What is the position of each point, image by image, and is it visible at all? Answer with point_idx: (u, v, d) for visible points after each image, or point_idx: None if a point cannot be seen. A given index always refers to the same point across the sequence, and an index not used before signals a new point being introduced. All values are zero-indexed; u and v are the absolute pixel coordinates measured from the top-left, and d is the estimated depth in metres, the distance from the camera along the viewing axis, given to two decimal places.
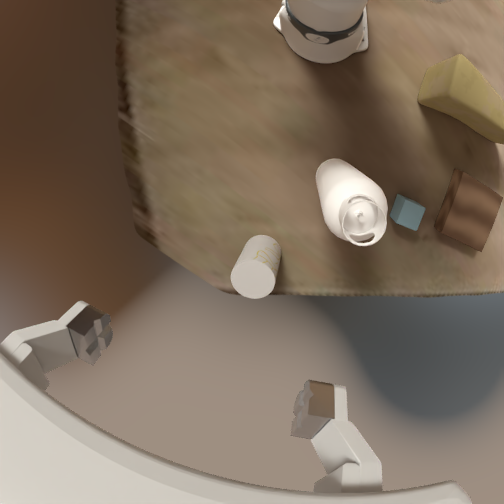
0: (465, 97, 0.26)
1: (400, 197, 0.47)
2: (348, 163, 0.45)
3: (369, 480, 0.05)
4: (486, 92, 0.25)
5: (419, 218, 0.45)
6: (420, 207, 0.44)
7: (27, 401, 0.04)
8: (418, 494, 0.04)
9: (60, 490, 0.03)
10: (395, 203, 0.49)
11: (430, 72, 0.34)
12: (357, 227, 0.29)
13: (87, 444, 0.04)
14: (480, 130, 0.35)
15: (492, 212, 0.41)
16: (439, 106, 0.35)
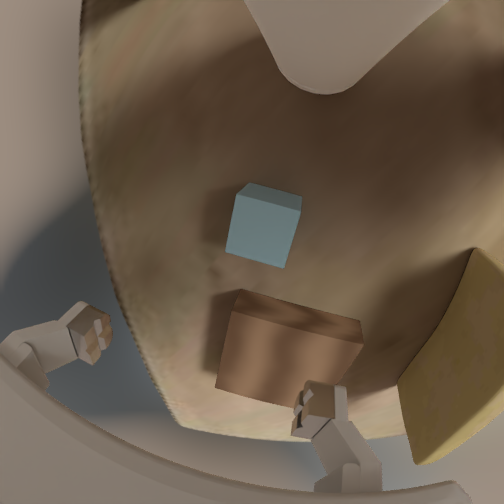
0: None
1: (298, 201, 0.22)
2: None
3: (369, 480, 0.05)
4: None
5: (257, 256, 0.22)
6: (284, 254, 0.22)
7: (27, 401, 0.04)
8: (418, 494, 0.04)
9: (60, 489, 0.03)
10: (280, 192, 0.24)
11: None
12: None
13: (87, 444, 0.04)
14: (428, 369, 0.25)
15: (288, 399, 0.31)
16: (484, 293, 0.19)
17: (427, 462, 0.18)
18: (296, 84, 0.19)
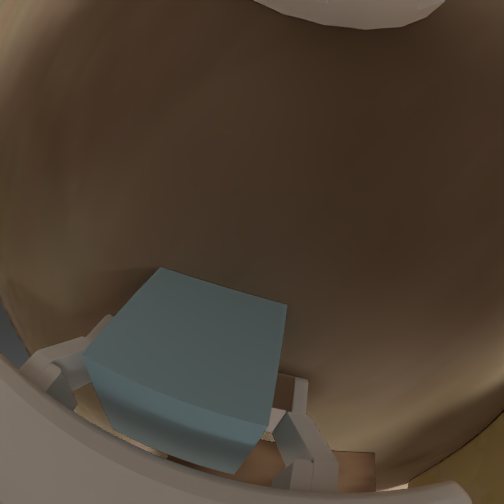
0: None
1: (272, 347, 0.08)
2: None
3: (323, 479, 0.05)
4: None
5: (174, 453, 0.08)
6: (231, 465, 0.07)
7: (27, 401, 0.04)
8: (418, 494, 0.04)
9: (61, 490, 0.03)
10: (228, 303, 0.09)
11: None
12: None
13: (87, 444, 0.04)
14: None
15: None
16: None
17: None
18: None
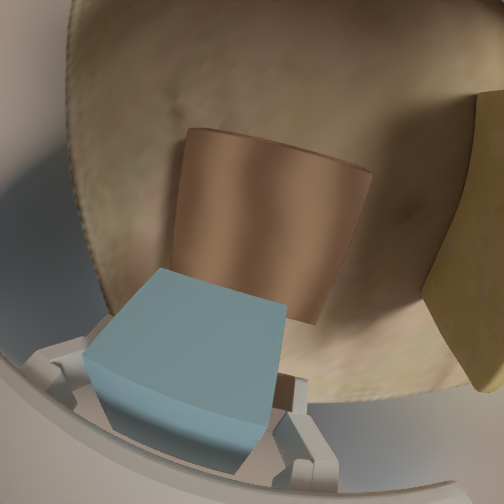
0: None
1: (271, 347, 0.08)
2: None
3: (323, 479, 0.05)
4: None
5: (174, 454, 0.08)
6: (231, 465, 0.07)
7: (27, 401, 0.04)
8: (418, 494, 0.04)
9: (61, 490, 0.03)
10: (228, 304, 0.09)
11: None
12: None
13: (87, 444, 0.04)
14: (463, 246, 0.18)
15: (273, 297, 0.23)
16: None
17: (498, 381, 0.10)
18: None
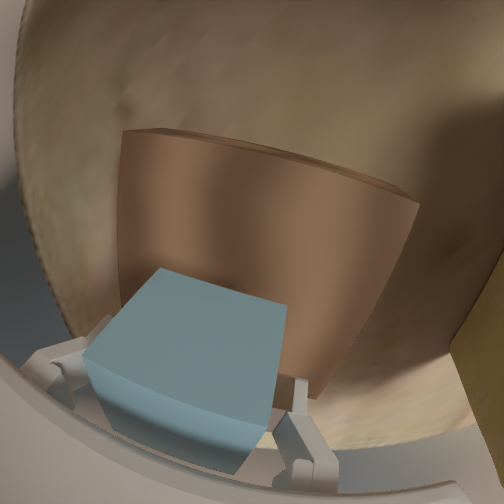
0: None
1: (271, 347, 0.08)
2: None
3: (323, 479, 0.05)
4: None
5: (174, 454, 0.08)
6: (231, 466, 0.07)
7: (27, 401, 0.04)
8: (418, 494, 0.04)
9: (61, 489, 0.03)
10: (228, 304, 0.09)
11: None
12: None
13: (87, 444, 0.04)
14: None
15: None
16: None
17: None
18: None
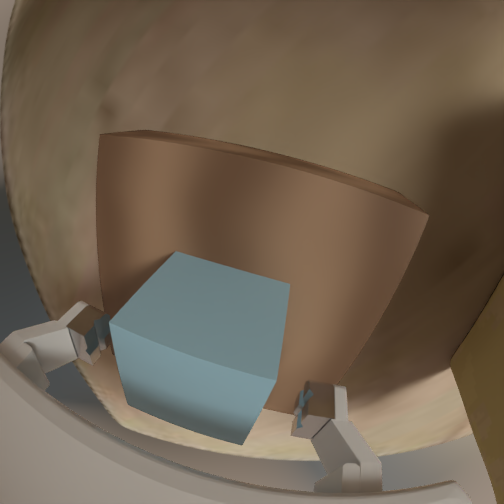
0: None
1: (277, 317, 0.09)
2: None
3: (369, 480, 0.05)
4: None
5: (186, 424, 0.09)
6: (240, 433, 0.08)
7: (27, 400, 0.04)
8: (418, 494, 0.04)
9: (61, 489, 0.03)
10: (238, 281, 0.10)
11: None
12: None
13: (87, 444, 0.04)
14: None
15: None
16: None
17: None
18: None
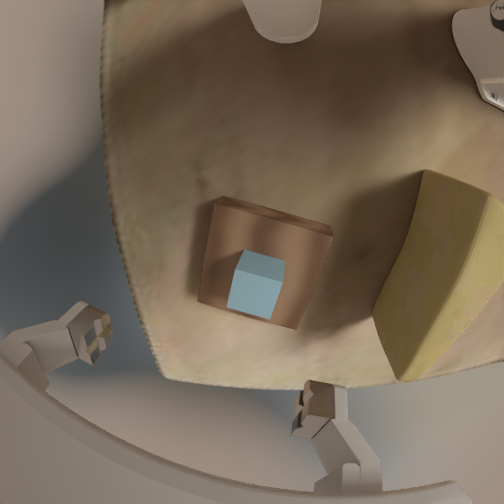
0: (487, 231, 0.16)
1: (281, 269, 0.30)
2: (317, 17, 0.20)
3: (369, 480, 0.05)
4: (487, 284, 0.18)
5: (250, 310, 0.30)
6: (270, 310, 0.29)
7: (27, 401, 0.04)
8: (418, 494, 0.04)
9: (61, 490, 0.03)
10: (268, 259, 0.31)
11: None
12: None
13: (87, 444, 0.04)
14: (397, 284, 0.31)
15: None
16: (435, 198, 0.24)
17: (410, 374, 0.23)
18: (266, 36, 0.24)
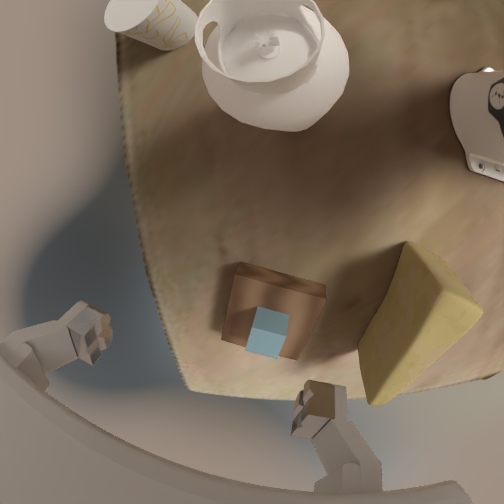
0: (437, 315, 0.25)
1: (286, 323, 0.39)
2: None
3: (369, 480, 0.05)
4: (439, 346, 0.27)
5: (262, 353, 0.39)
6: (277, 353, 0.38)
7: (28, 401, 0.04)
8: (418, 494, 0.04)
9: (61, 490, 0.03)
10: (276, 314, 0.40)
11: (445, 264, 0.34)
12: (236, 52, 0.10)
13: (87, 444, 0.04)
14: (375, 331, 0.39)
15: None
16: (408, 272, 0.33)
17: (377, 402, 0.32)
18: None
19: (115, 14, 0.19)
